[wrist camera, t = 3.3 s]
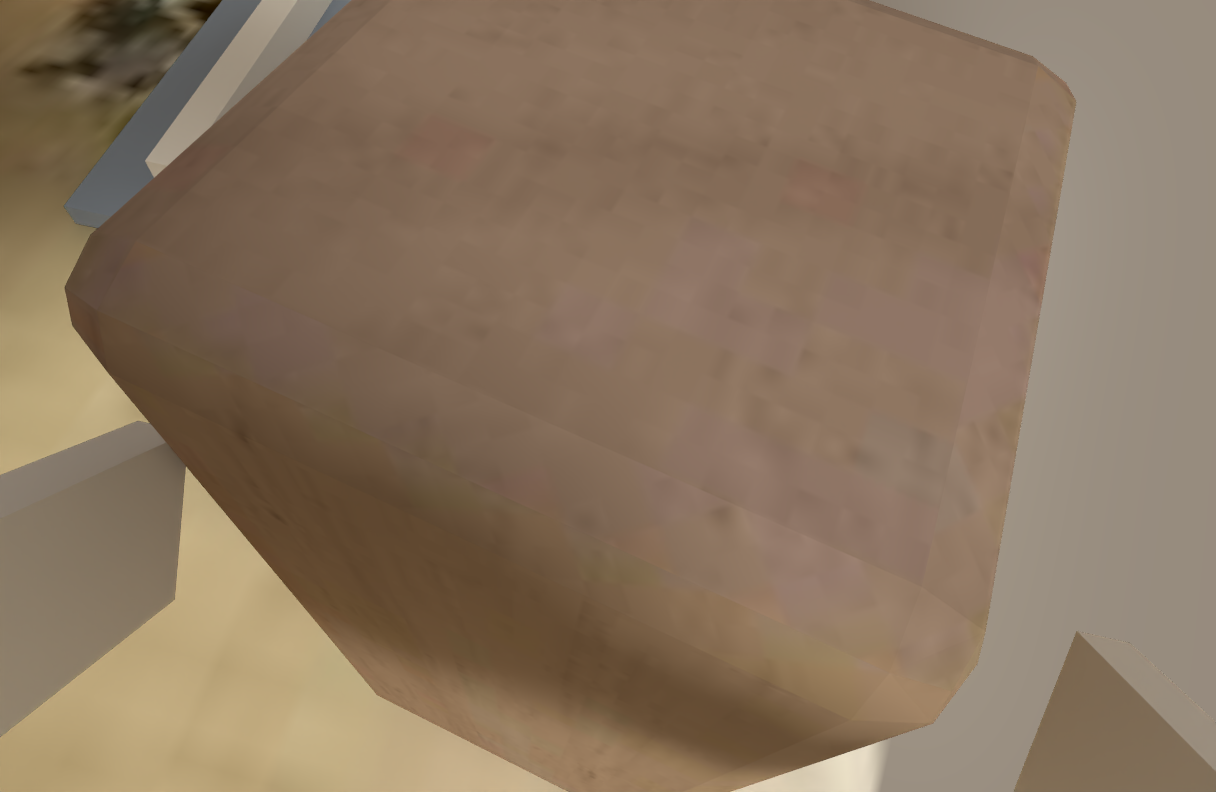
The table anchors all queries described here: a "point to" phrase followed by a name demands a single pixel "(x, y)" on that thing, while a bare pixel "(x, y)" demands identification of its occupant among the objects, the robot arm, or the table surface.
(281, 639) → the table surface
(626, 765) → the block
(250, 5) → the grey square frame tray
